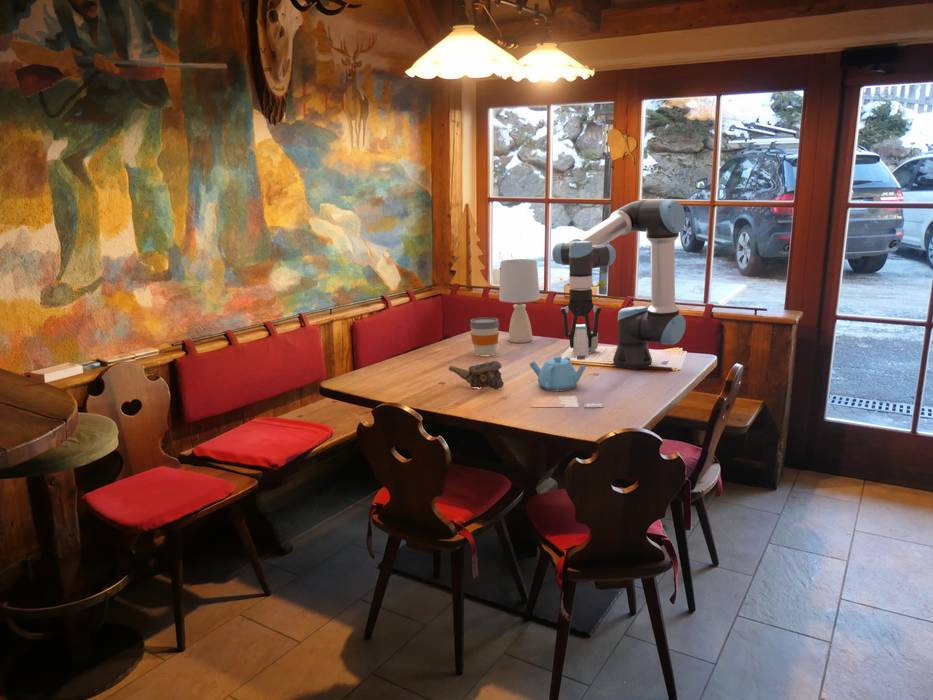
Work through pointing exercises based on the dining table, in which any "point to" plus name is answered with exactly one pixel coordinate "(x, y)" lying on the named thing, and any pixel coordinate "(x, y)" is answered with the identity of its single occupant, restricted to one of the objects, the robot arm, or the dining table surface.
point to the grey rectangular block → (580, 341)
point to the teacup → (594, 343)
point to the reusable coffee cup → (484, 335)
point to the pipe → (481, 375)
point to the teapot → (557, 374)
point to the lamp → (519, 294)
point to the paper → (569, 401)
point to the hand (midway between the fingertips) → (580, 356)
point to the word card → (593, 405)
